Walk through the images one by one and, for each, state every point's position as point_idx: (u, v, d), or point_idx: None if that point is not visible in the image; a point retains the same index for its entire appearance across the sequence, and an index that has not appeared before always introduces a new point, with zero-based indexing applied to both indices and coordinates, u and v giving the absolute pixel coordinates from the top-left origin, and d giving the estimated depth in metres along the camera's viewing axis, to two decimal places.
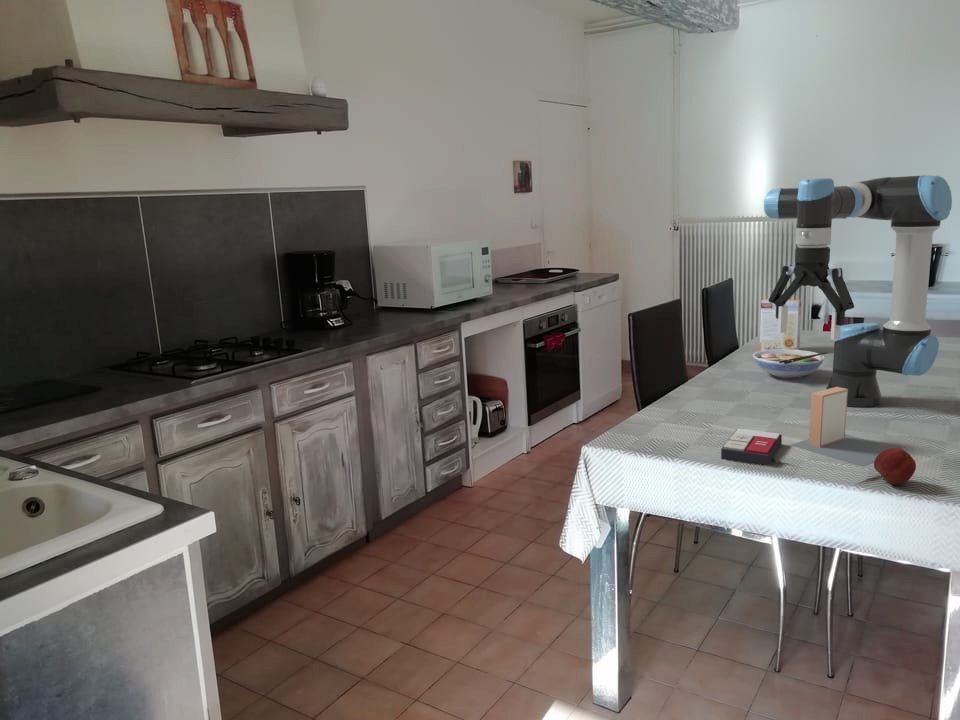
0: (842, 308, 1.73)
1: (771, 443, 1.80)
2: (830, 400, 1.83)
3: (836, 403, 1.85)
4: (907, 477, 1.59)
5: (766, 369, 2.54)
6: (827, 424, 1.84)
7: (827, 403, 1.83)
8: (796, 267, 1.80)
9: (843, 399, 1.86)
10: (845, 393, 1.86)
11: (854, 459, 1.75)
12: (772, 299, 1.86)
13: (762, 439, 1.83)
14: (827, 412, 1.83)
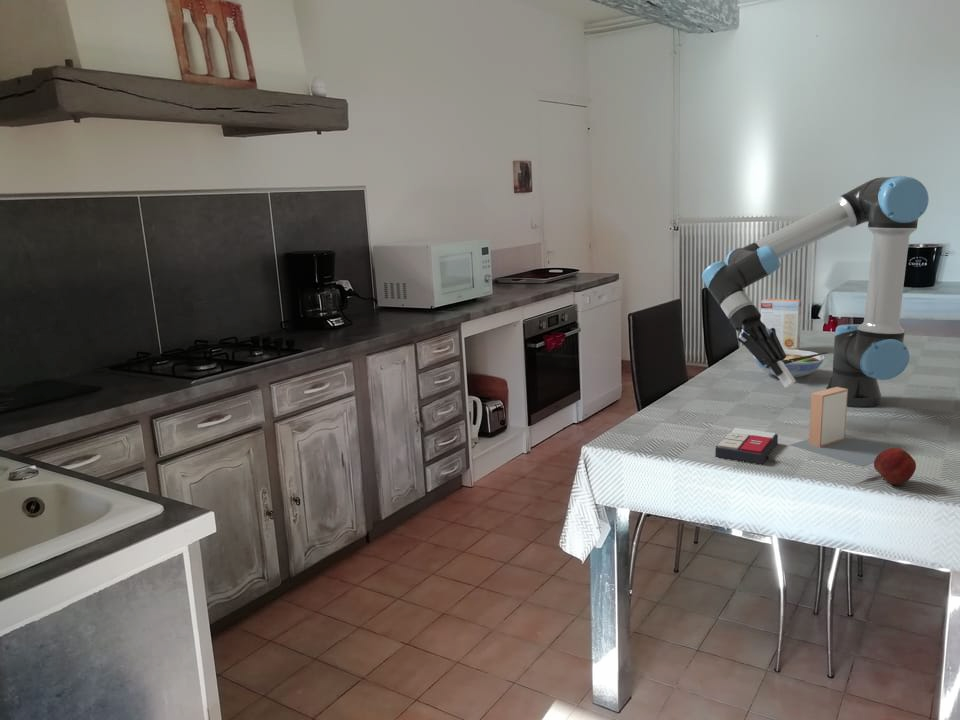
0: None
1: (766, 442, 1.81)
2: (830, 400, 1.83)
3: (836, 403, 1.85)
4: (907, 477, 1.59)
5: (766, 369, 2.54)
6: (827, 424, 1.84)
7: (827, 403, 1.83)
8: None
9: (843, 399, 1.86)
10: (845, 393, 1.86)
11: (854, 459, 1.75)
12: None
13: (757, 438, 1.84)
14: (827, 412, 1.83)
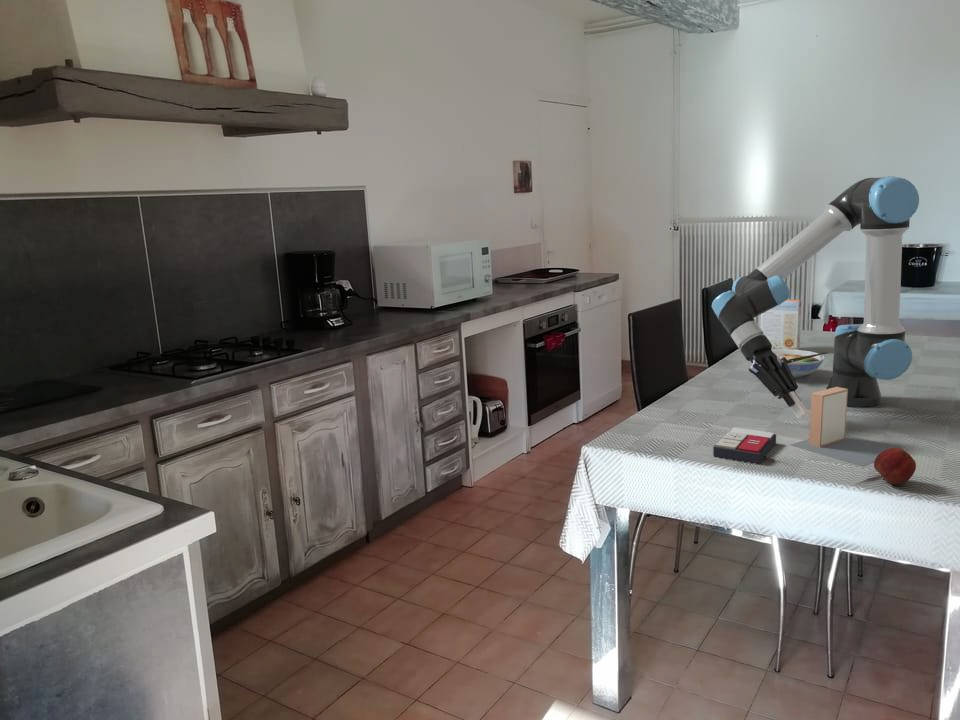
0: None
1: (764, 442, 1.81)
2: (830, 400, 1.83)
3: (836, 403, 1.85)
4: (907, 477, 1.59)
5: None
6: (827, 424, 1.84)
7: (827, 403, 1.83)
8: None
9: (843, 399, 1.86)
10: (845, 393, 1.86)
11: (854, 459, 1.75)
12: None
13: (755, 438, 1.84)
14: (827, 412, 1.83)
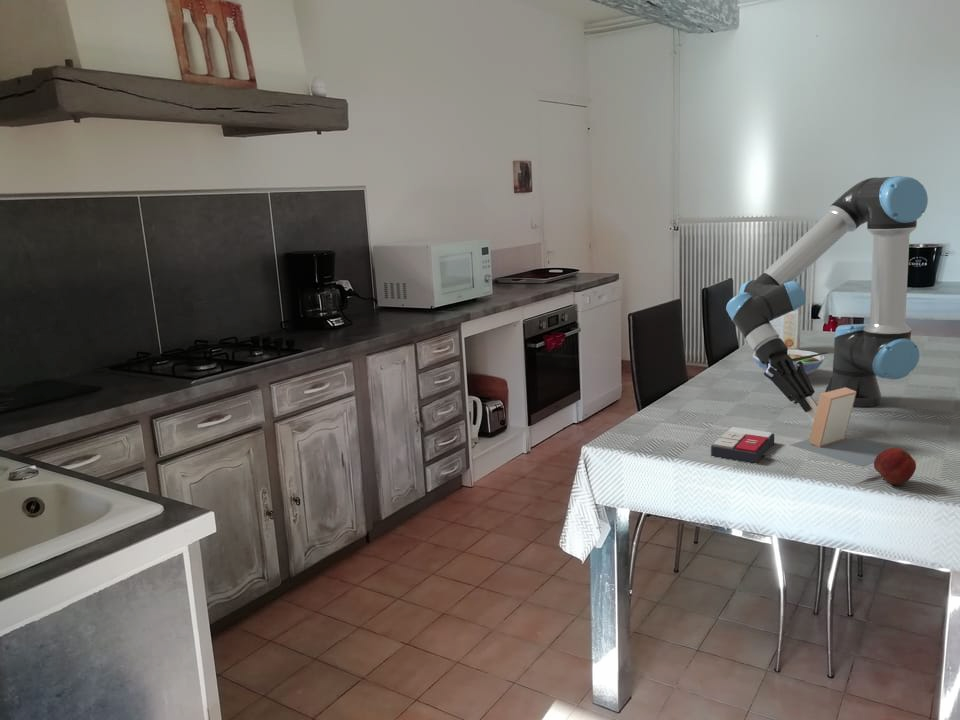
0: None
1: (761, 441, 1.82)
2: (837, 402, 1.82)
3: (842, 406, 1.83)
4: (907, 477, 1.59)
5: (766, 369, 2.54)
6: (830, 425, 1.83)
7: (834, 405, 1.81)
8: None
9: (850, 401, 1.84)
10: (853, 395, 1.84)
11: (854, 459, 1.75)
12: None
13: (753, 437, 1.84)
14: (832, 414, 1.82)
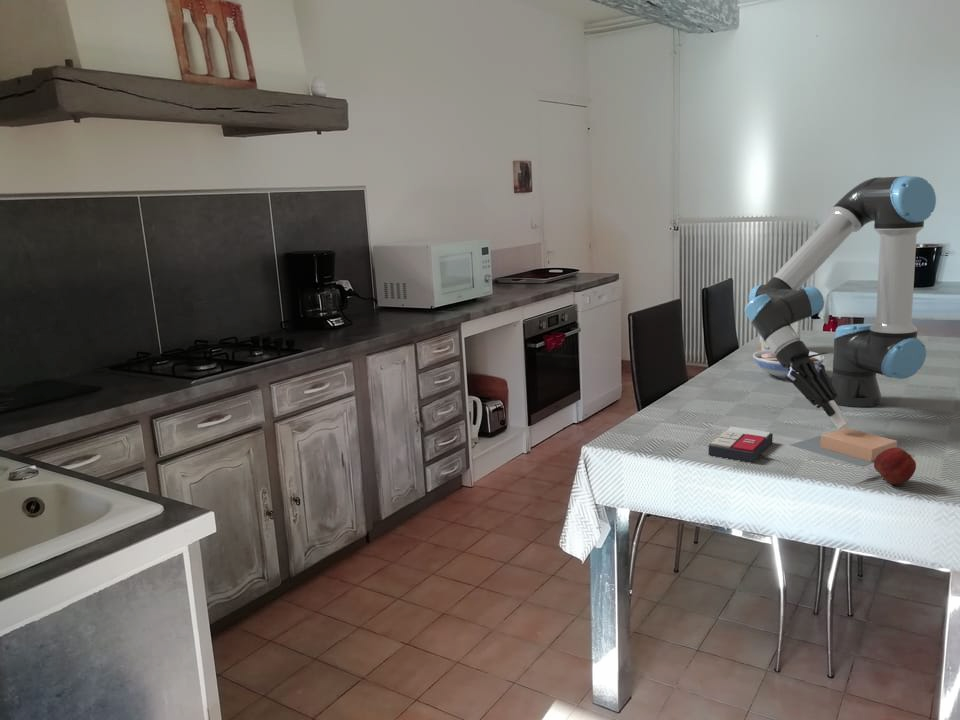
0: None
1: (759, 441, 1.82)
2: None
3: None
4: (907, 477, 1.59)
5: (766, 369, 2.54)
6: None
7: None
8: None
9: None
10: None
11: (854, 459, 1.75)
12: None
13: (751, 437, 1.85)
14: None
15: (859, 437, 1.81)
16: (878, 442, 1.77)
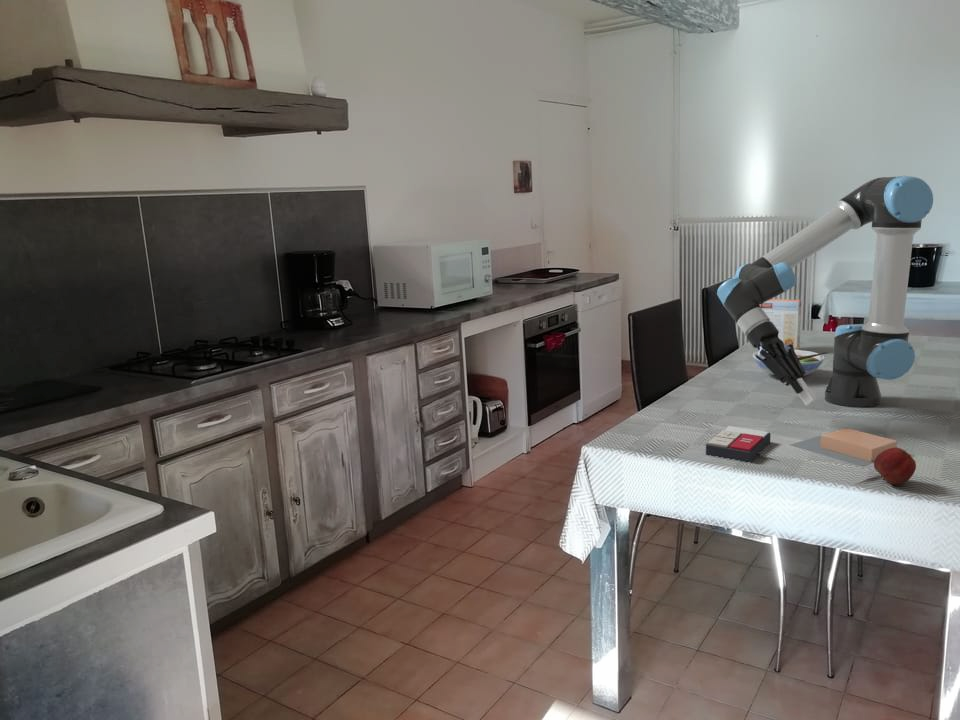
0: None
1: (756, 441, 1.82)
2: None
3: None
4: (907, 477, 1.59)
5: (766, 369, 2.54)
6: None
7: None
8: None
9: None
10: None
11: (854, 459, 1.75)
12: None
13: (748, 436, 1.85)
14: None
15: (859, 437, 1.81)
16: (878, 442, 1.77)
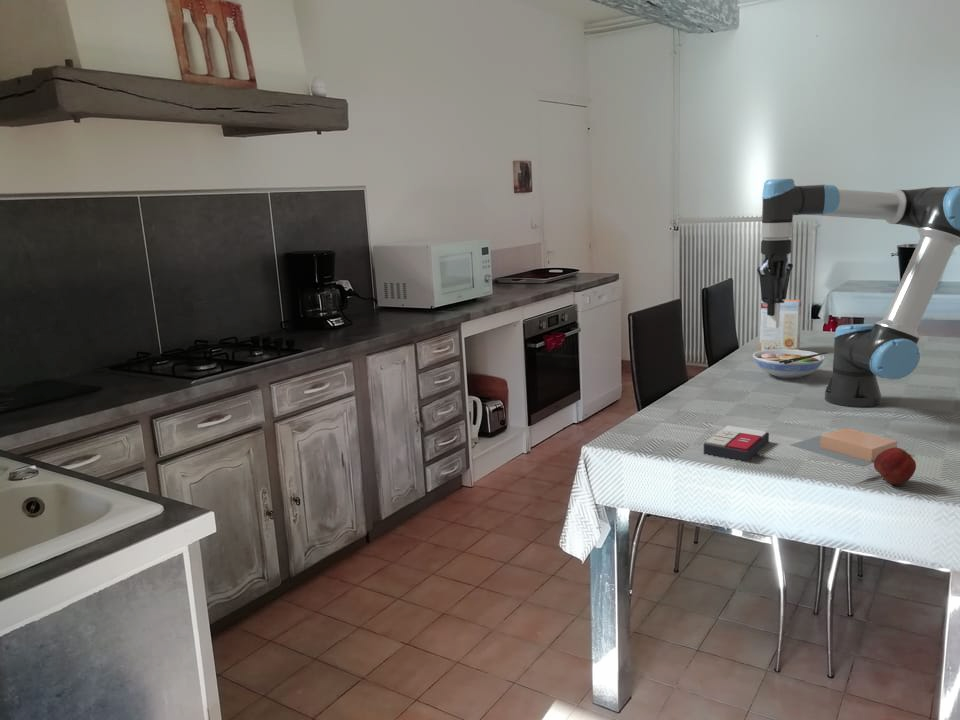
0: None
1: (754, 440, 1.83)
2: None
3: None
4: (907, 477, 1.59)
5: (766, 369, 2.54)
6: None
7: None
8: None
9: None
10: None
11: (854, 459, 1.75)
12: None
13: (746, 436, 1.86)
14: None
15: (859, 437, 1.81)
16: (878, 442, 1.77)
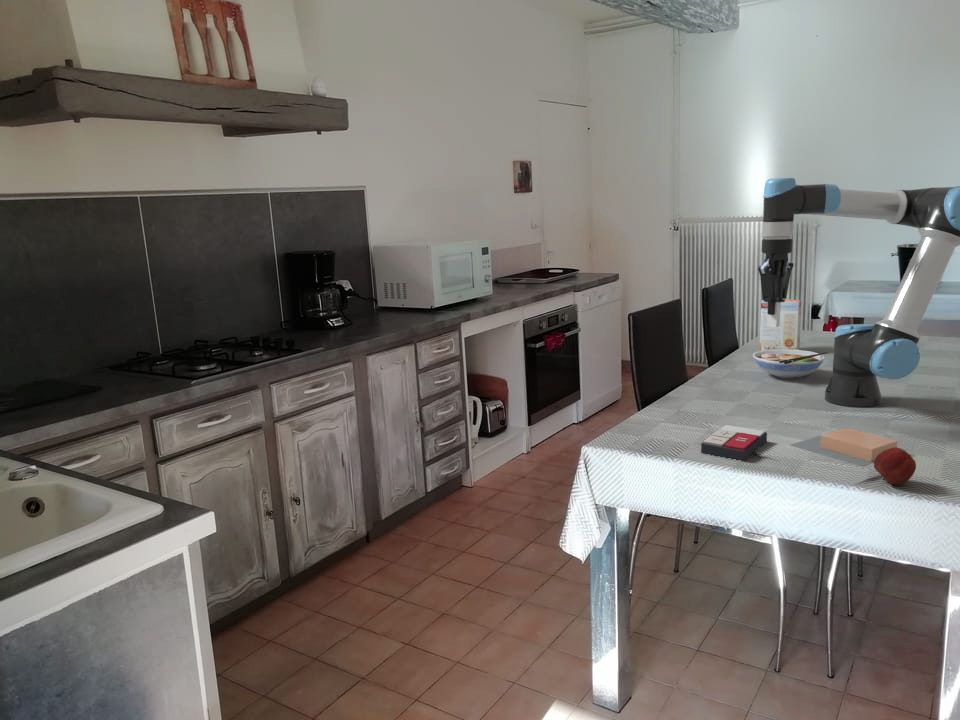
0: None
1: (751, 440, 1.83)
2: None
3: None
4: (907, 477, 1.59)
5: (766, 369, 2.54)
6: None
7: None
8: None
9: None
10: None
11: (854, 459, 1.75)
12: None
13: (744, 436, 1.86)
14: None
15: (859, 437, 1.81)
16: (878, 442, 1.77)
